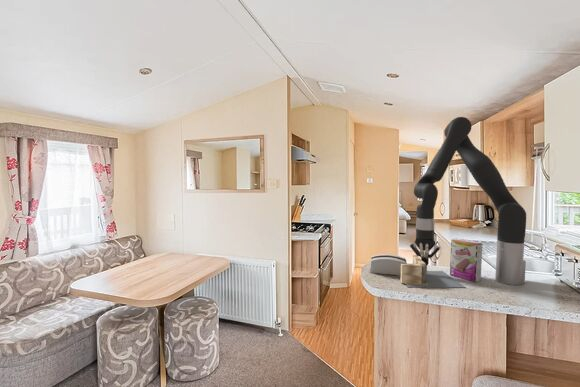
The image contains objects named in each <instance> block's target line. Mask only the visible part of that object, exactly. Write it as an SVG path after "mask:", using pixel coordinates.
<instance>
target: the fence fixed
mask: <svg viewBox="0 0 580 387" xmlns="http://www.w3.org/2000/svg"><path fill="white" fill-rule="evenodd" d="M427 271H428V265H425V264H422V265H421V264H413V263H407V264H401V280H400V283H401V284H404V283H422V284H426V281H427Z"/></svg>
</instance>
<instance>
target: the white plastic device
mask: <svg viewBox="0 0 580 387" xmlns="http://www.w3.org/2000/svg"><path fill="white" fill-rule="evenodd" d="M401 264H408V263H407V259H406V258H405V257H403V256H400V255H396V254H389V253H383V254H376V255H372V256H371V257H370V264H369V265H370V267H369V273H370V274H380V275H381V274H382V275H392V276H393V275H394V276H397V275H401Z"/></svg>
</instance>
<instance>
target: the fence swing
mask: <svg viewBox="0 0 580 387" xmlns="http://www.w3.org/2000/svg"><path fill="white" fill-rule="evenodd" d="M412 264H421V265H422V264H425V263H424V262H423V261H422V260H421V257H420V256H417V255H416V254H415V255H414V254H413V255H412ZM425 265H426V264H425Z"/></svg>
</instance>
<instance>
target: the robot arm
mask: <svg viewBox="0 0 580 387" xmlns="http://www.w3.org/2000/svg"><path fill="white" fill-rule="evenodd" d="M471 131H472V122H471V121H470V119H468V118H467V117H464V116H458V117H455V118H453V119H452V120H450V122H449V123H448V124H447V125H446V127H445V128H444V136H445V138H444V140H443V143H442V145H441V146H440V148H439V149H438V151H437V152H436V153H435V155H434V157H433V159H432V160H431V161H430V164H429V166H428V168H427V169H426V172H425V173H424V174H423V175H422V176H421V177H420V179H419V180H418V181H417V182H416V184H415V186H414V188H413V194H414V196H415V197H416V198H418V199H419V200H422V201H421V203H420V204H418V205H417V206H416V221H415V222H416V223H415V239H414V242H413V243H411V244H409V247H410V248H411V250H412V251H413V252H414V254H415V255H417V256H418V257H419V258H420V259H421V260H422V261H423V262H424V263H425V264H426V265H427V266H428V265H429V263H430V262H429V259H430V258H433V257H434V256H435V255H436V254H437V253H438V252H439V251H440V250H441V246H438V245H437V244H436V241H435V207H436V204H437V200H438V195H439V190H438V188H437V185H435V184H436V183H438V182H440V181H441V180H442V178H443V177H444V175H445V173H446V172H447V169H448V168H449V165H450V163H451V161H452V159H453V157H454V155H455V154H456V153H458V156H459V157H460V158H461V160H462V162H463V163H464V165H465V166H466V168H467V169H468V172H469V173H470V174H471V176H472V177H473V179H474V180H475V182H476V184H478V186H479V187H480V188H481V189H482V191H483V192H484V193H486V194H487V197H489V199H490V200H491V202H492V204H493V206H494V208H495V210H496V212H497V215H498V218H497V219H498V222H497V234H496V235H497V237H496V239H497V240H496V257H495V260H496V261H495V281H497V282H499V283H502V284H505V285H506V284H507V285H513V286H519V285H523V284H525V282H526V265H527V264H526V263H527V260H524V256H525V255H524V252H525V239H526V238H525V237H526V228H527V212H526V210H525V208H524V207H523V206H522V205H521V204H520V203H519V202H518V201H517V199H515V198H514V196H513V195H512V193H511V192H510V191H509V189H508V188H507V186H506V185H507V184H506V183H505V181H504V179H503V177H502V175H501V174H500V171H499V170H498V168H497V166H496V165H495V164H494V162H493V161H492V160H491V158H490V157H489V156H488V155H486V154H485V153H484V152H482V151H481V150H480V149H478V148H477V147H476V146H475V145H474V143H473V142H472V141H471V139H470V138H469V134H470V132H471ZM431 250H433V251H432V252H431V253H430V251H431Z"/></svg>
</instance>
